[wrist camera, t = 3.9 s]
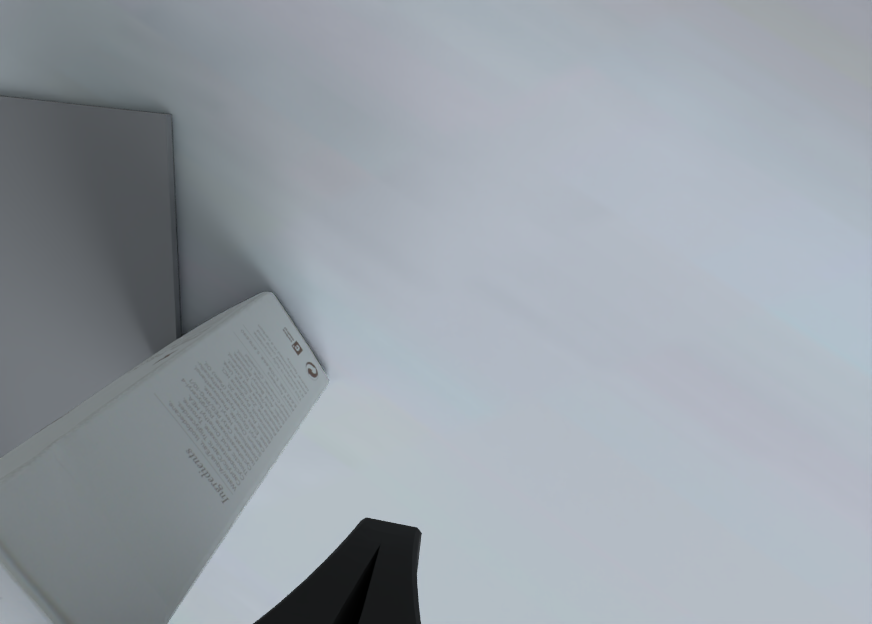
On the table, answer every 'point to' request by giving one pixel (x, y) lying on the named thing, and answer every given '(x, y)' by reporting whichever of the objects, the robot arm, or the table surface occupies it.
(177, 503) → the skincare box
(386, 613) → the robot arm
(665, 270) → the table surface
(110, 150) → the mat
